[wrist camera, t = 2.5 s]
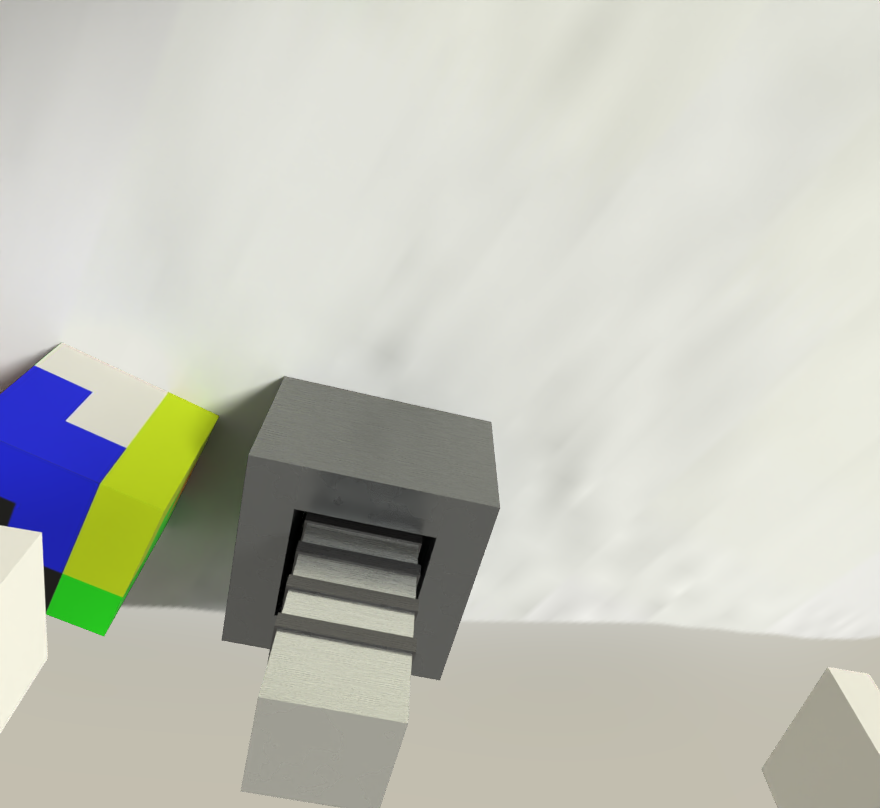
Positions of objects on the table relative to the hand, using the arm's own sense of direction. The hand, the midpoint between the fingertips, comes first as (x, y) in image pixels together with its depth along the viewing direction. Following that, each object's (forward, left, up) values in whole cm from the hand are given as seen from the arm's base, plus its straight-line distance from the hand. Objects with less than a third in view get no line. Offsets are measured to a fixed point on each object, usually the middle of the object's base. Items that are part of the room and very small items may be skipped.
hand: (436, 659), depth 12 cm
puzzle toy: (-1, -25, -31) cm, 40 cm away
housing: (+11, -14, -31) cm, 36 cm away
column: (+11, -14, -31) cm, 36 cm away
